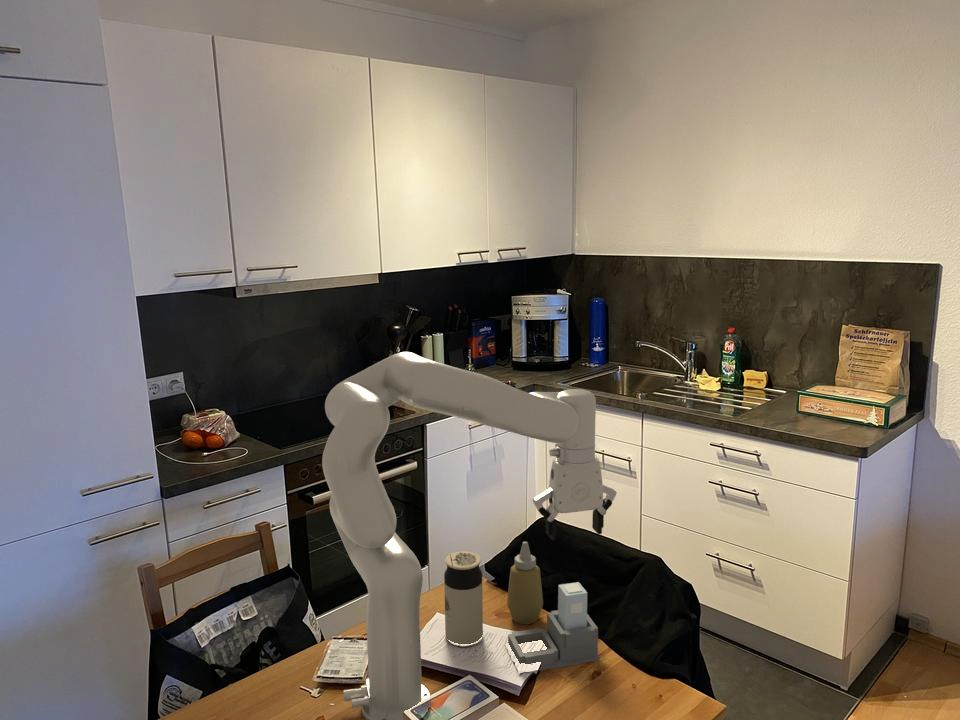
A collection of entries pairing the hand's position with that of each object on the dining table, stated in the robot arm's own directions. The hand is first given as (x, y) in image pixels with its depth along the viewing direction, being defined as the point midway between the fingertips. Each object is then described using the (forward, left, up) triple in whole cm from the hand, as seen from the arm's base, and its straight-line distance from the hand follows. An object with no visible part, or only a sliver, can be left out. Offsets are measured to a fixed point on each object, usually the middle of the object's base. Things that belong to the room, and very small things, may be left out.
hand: (574, 534), depth 142 cm
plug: (0, 0, -22) cm, 22 cm away
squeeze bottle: (-6, +14, -26) cm, 30 cm away
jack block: (-5, 0, -25) cm, 26 cm away
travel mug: (-21, +10, -26) cm, 34 cm away
